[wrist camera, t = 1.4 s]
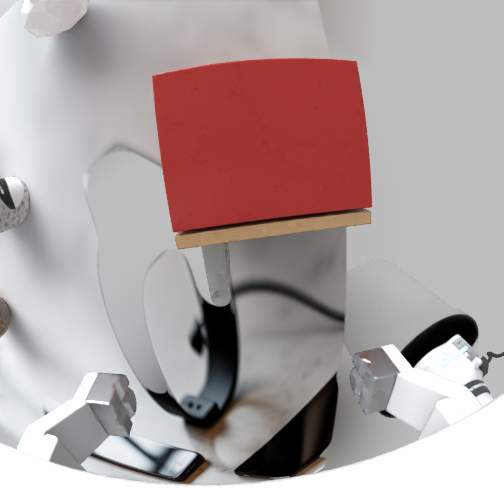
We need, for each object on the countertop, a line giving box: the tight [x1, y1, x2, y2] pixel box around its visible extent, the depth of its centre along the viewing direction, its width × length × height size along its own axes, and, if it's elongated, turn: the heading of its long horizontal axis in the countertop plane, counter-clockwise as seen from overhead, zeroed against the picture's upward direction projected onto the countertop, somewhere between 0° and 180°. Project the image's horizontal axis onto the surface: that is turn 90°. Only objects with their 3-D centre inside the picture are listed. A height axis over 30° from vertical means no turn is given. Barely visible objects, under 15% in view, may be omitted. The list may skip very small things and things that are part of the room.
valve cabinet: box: [152, 58, 372, 232], centre depth 22 cm, size 9×12×16 cm
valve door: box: [175, 208, 371, 306], centre depth 24 cm, size 6×12×15 cm, turn 97°
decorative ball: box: [21, 0, 89, 37], centre depth 18 cm, size 9×11×12 cm
